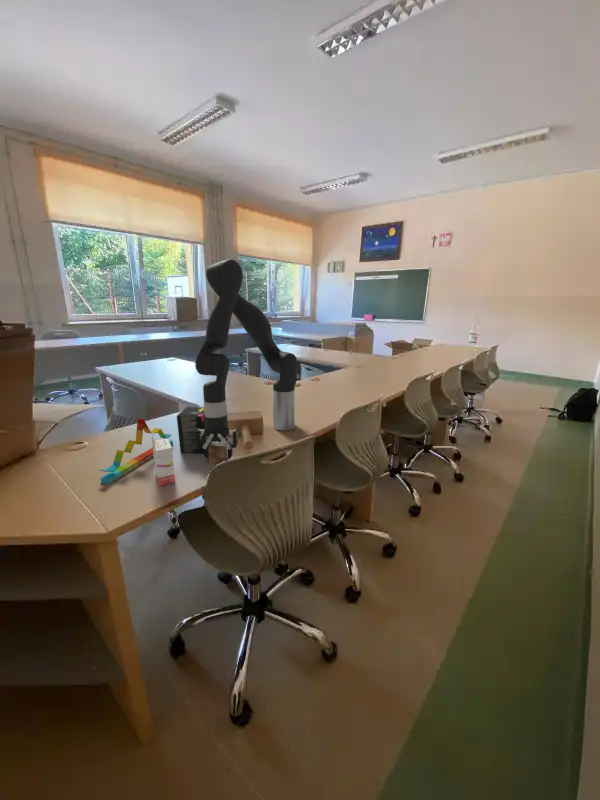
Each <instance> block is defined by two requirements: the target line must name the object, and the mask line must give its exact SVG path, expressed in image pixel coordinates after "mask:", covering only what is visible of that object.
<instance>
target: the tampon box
mask: <svg viewBox="0 0 600 800" xmlns="http://www.w3.org/2000/svg"><path fill="white" fill-rule="evenodd" d="M176 422H177V423H176V425H177V433H178V441H179V452H180V453H183V454H184V453H186V454H187V453H188V454H204V449H203V448H202V447H198V446H197V438H196V431H197V430H198V429H199V428H200V429H201V430H204V429H205V418H204V406H203V407H202V406H186V407H185V408H184V409H183V410H182V411H181V412H178V414H177V415H176ZM202 439H203V443H205V442H206V441H207V439H208V437H207V436H206V435H205V433H203V435H202ZM211 444H212V441H210V443H209V444H208V447H210V446H211Z"/></svg>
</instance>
